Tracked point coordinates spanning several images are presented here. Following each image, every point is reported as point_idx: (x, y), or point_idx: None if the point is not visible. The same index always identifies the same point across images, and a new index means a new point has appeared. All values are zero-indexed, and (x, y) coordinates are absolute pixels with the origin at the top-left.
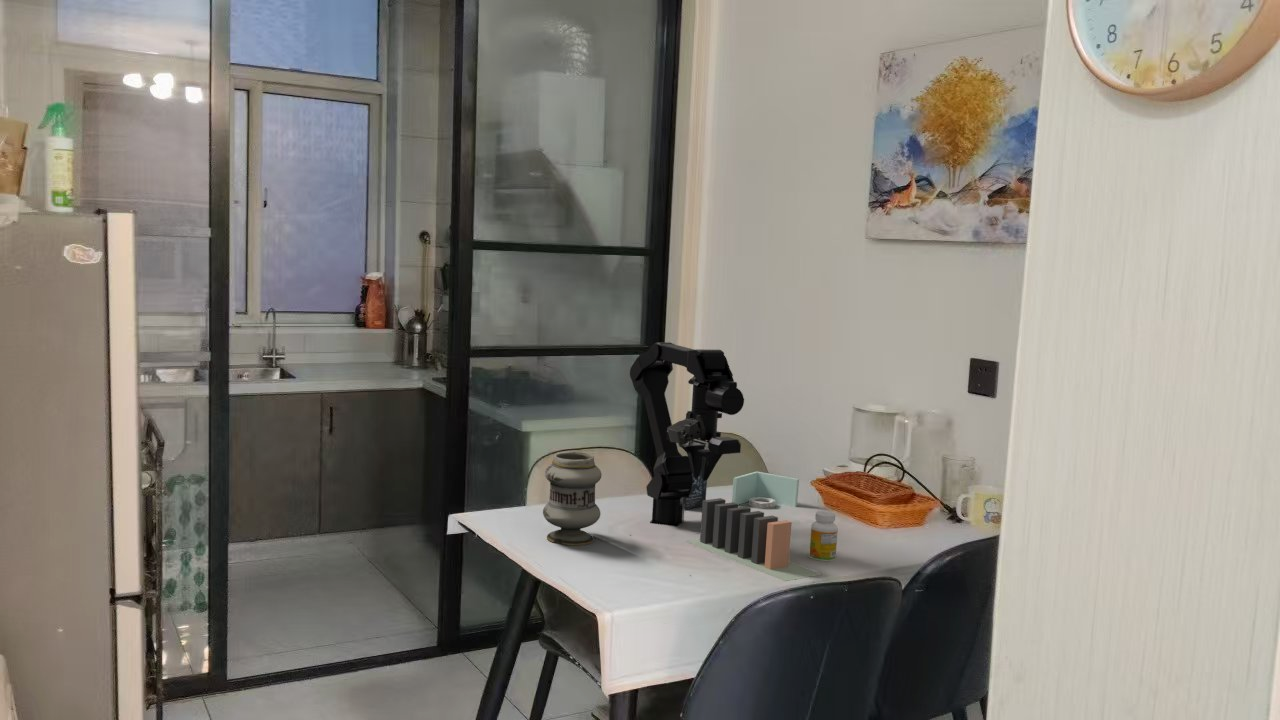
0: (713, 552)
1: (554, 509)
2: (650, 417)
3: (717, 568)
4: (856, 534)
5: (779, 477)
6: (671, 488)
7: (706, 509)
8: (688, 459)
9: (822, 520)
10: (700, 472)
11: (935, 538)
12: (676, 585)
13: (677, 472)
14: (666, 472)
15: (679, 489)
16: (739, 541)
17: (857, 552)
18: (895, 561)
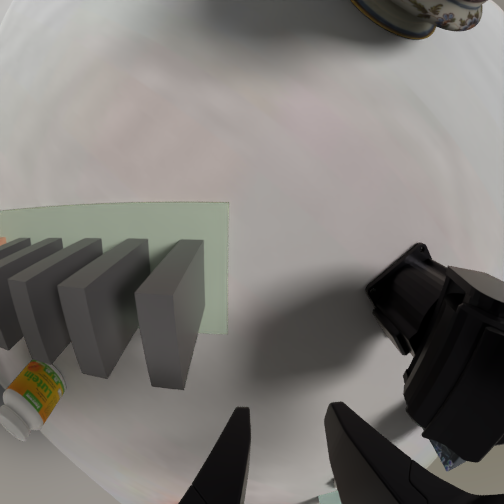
0: (106, 204)
1: None
2: None
3: (38, 145)
4: (164, 483)
5: None
6: (440, 318)
7: (150, 277)
8: (466, 456)
9: (1, 406)
10: (450, 451)
11: (129, 500)
12: (31, 27)
13: (466, 377)
14: (498, 329)
15: (422, 350)
16: (36, 248)
17: (80, 432)
18: (44, 426)
